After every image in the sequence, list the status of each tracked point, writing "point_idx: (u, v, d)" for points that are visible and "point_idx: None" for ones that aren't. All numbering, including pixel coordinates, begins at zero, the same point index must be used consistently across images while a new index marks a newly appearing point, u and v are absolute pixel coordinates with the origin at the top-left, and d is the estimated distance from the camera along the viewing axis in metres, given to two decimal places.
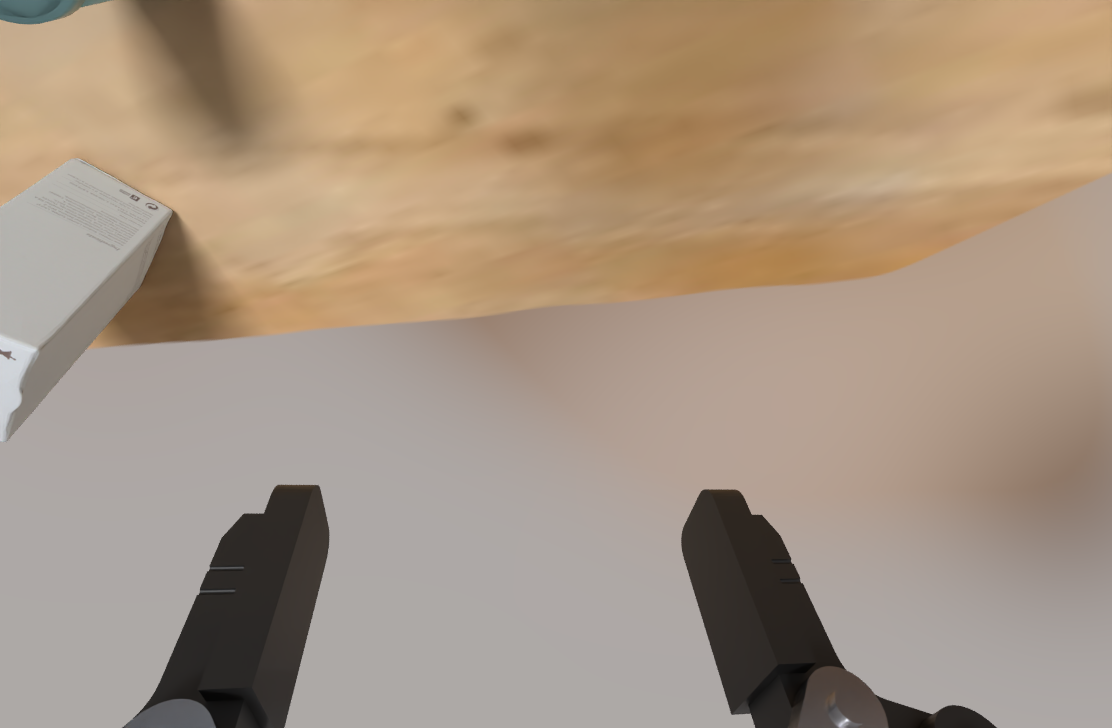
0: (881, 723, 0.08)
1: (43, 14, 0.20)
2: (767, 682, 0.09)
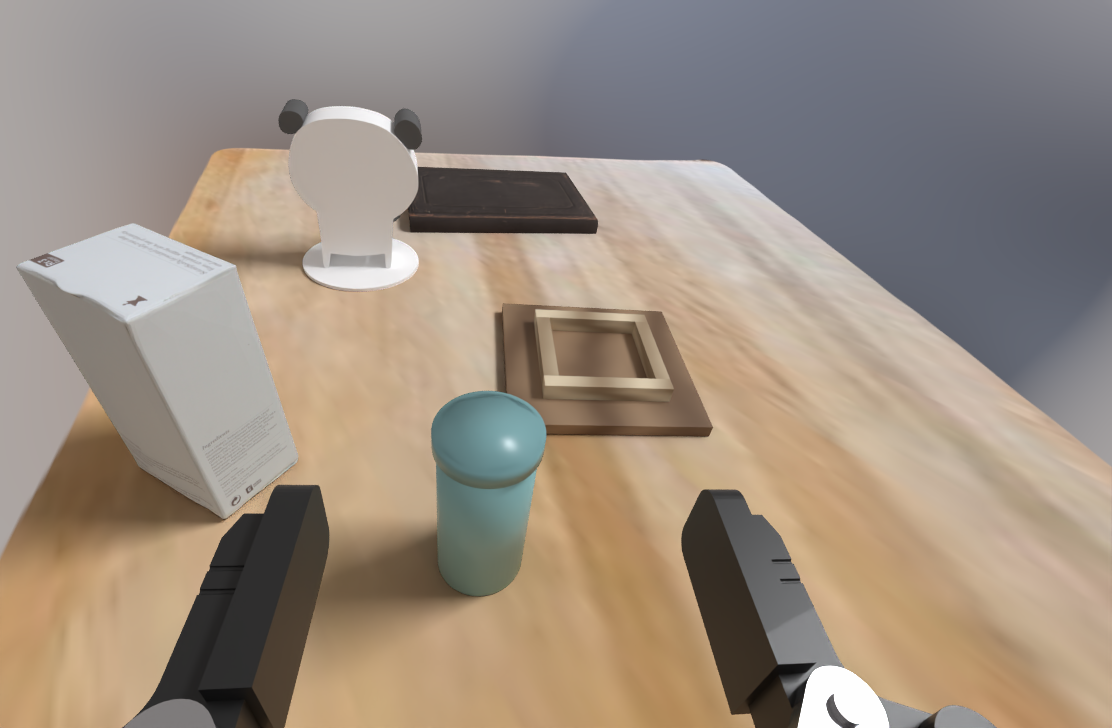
0: (881, 723, 0.08)
1: (439, 444, 0.24)
2: (767, 682, 0.09)
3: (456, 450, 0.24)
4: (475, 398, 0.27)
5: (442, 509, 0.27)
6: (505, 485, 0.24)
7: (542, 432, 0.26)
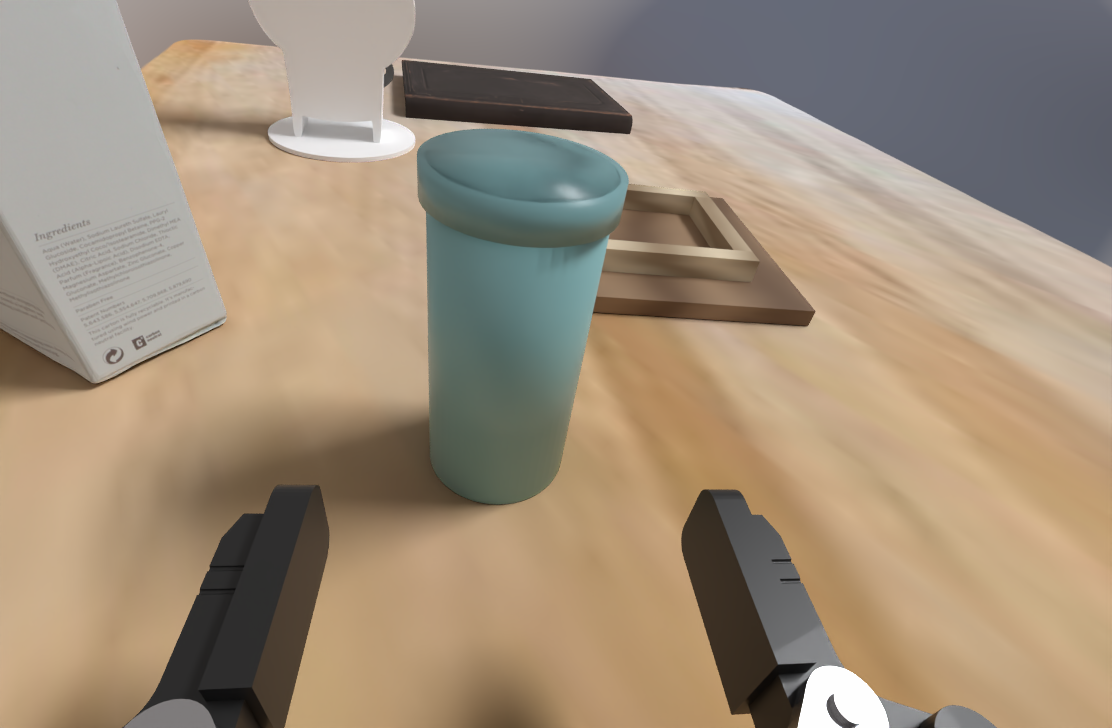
0: (881, 723, 0.08)
1: (431, 166, 0.13)
2: (767, 682, 0.09)
3: (464, 175, 0.13)
4: (497, 134, 0.15)
5: (437, 328, 0.15)
6: (557, 245, 0.13)
7: (620, 174, 0.14)
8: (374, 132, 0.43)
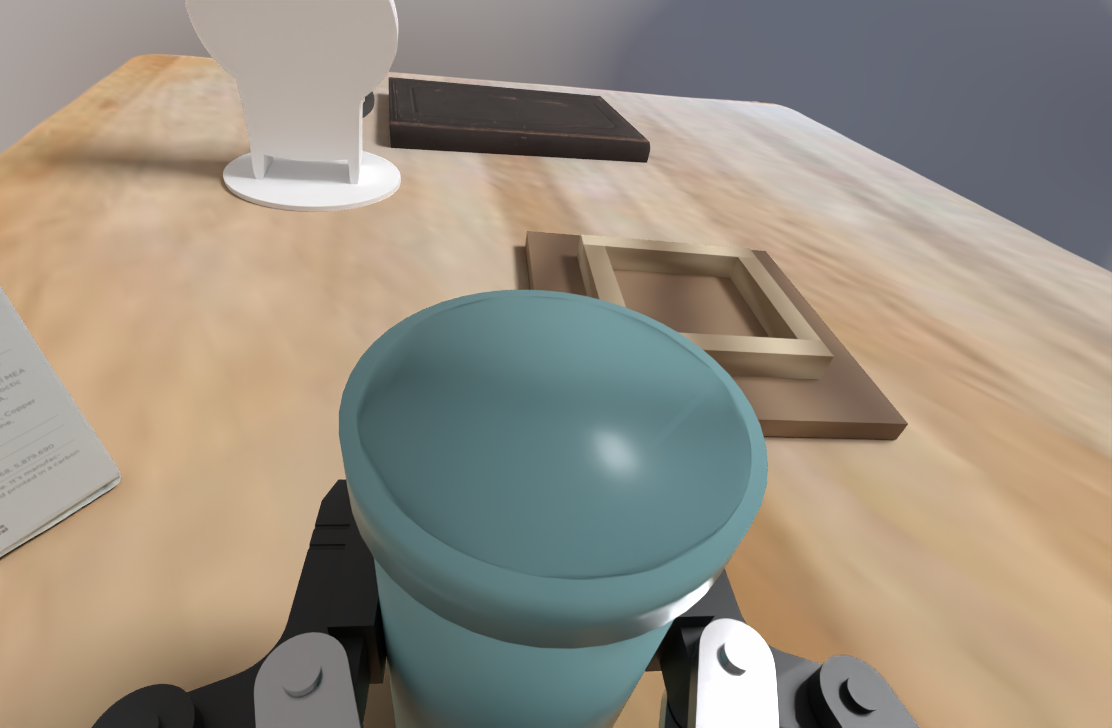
0: (768, 670, 0.08)
1: (364, 452, 0.06)
2: (671, 636, 0.09)
3: (434, 479, 0.06)
4: (503, 306, 0.09)
5: (394, 659, 0.08)
6: (636, 627, 0.06)
7: (743, 413, 0.07)
8: (351, 172, 0.37)
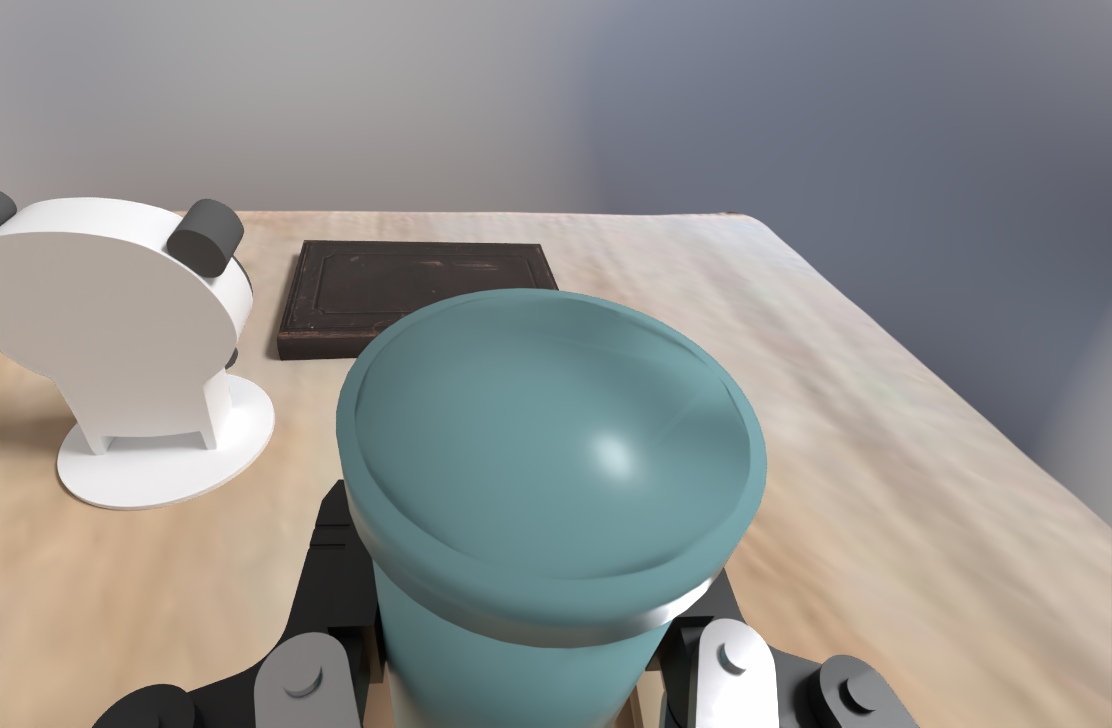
0: (768, 670, 0.08)
1: (361, 451, 0.06)
2: (671, 636, 0.09)
3: (432, 478, 0.06)
4: (501, 305, 0.09)
5: (392, 659, 0.08)
6: (635, 626, 0.06)
7: (742, 412, 0.07)
8: (206, 441, 0.33)
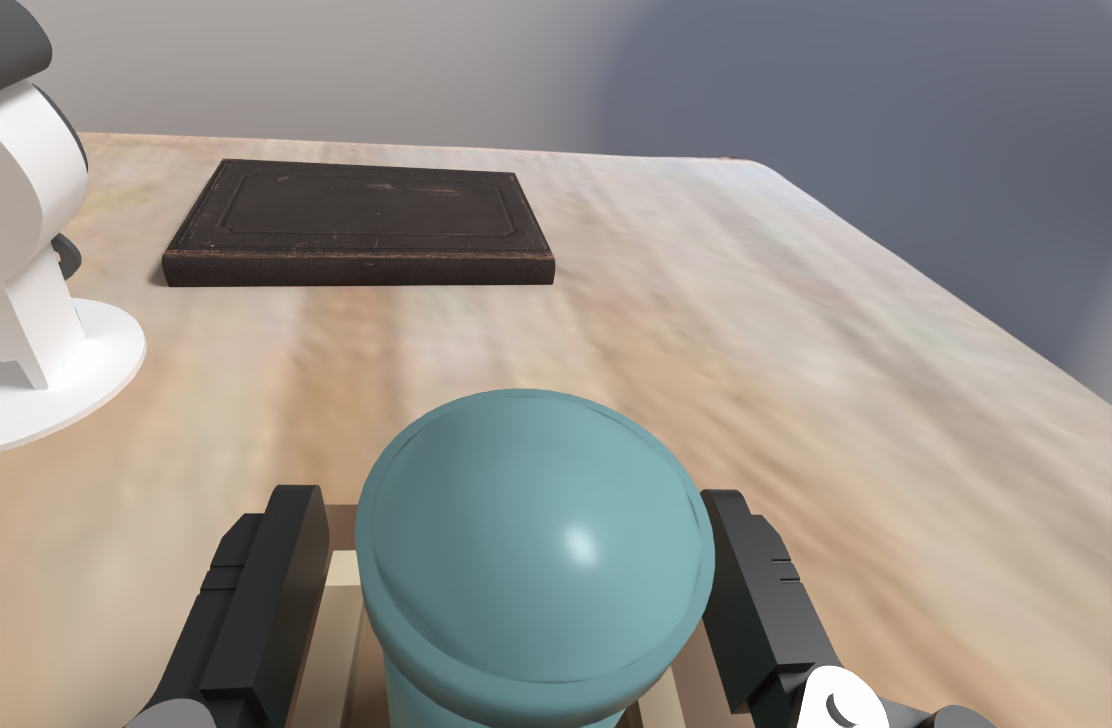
0: (881, 723, 0.08)
1: (376, 564, 0.07)
2: (767, 682, 0.09)
3: (434, 589, 0.07)
4: (495, 408, 0.10)
5: (396, 715, 0.10)
6: (599, 712, 0.07)
7: (698, 516, 0.09)
8: (30, 376, 0.23)
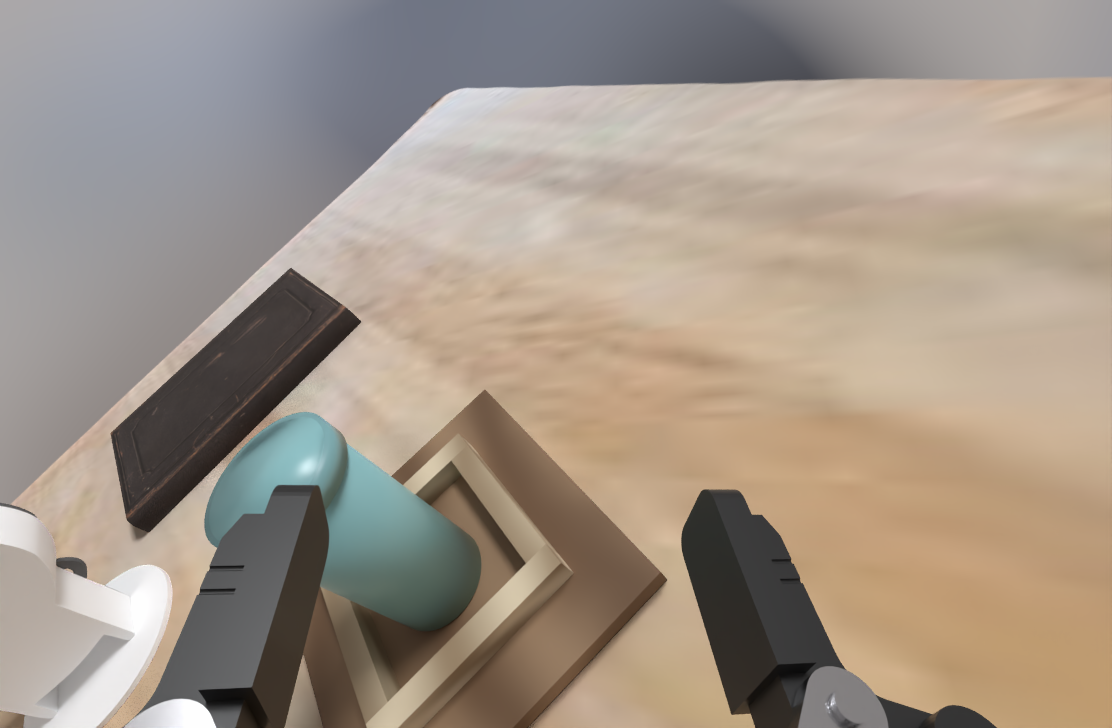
0: (881, 723, 0.08)
1: (216, 538, 0.18)
2: (767, 682, 0.09)
3: None
4: (244, 454, 0.21)
5: None
6: None
7: (323, 430, 0.20)
8: (119, 636, 0.35)
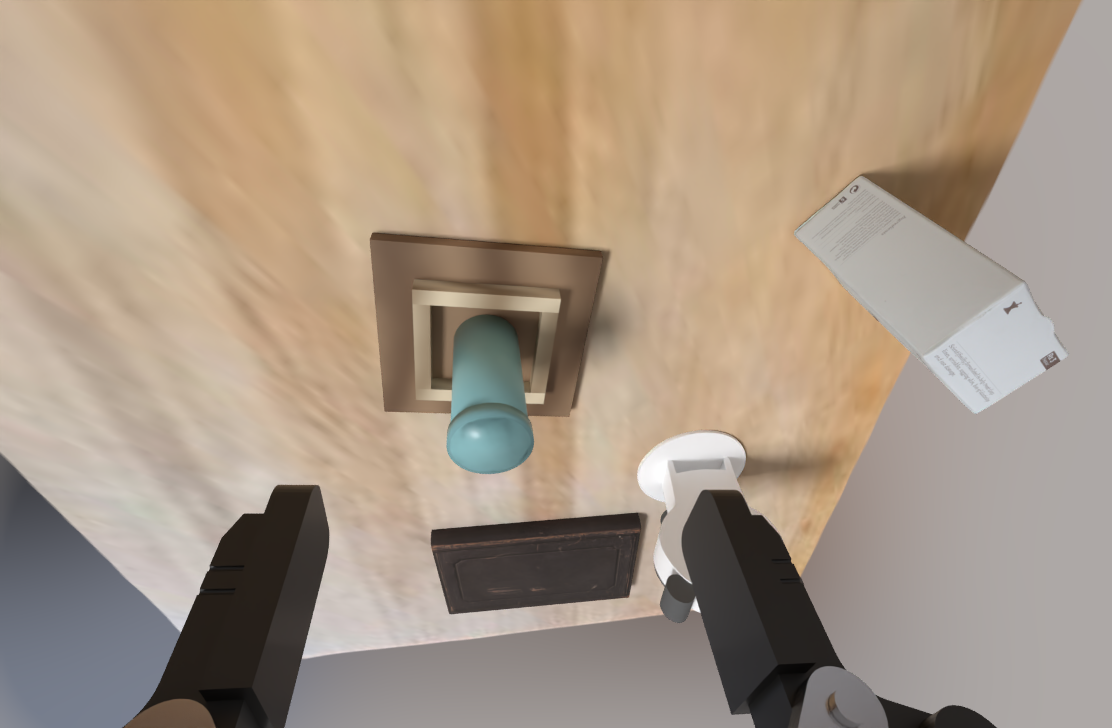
0: (881, 723, 0.08)
1: (529, 436, 0.34)
2: (767, 682, 0.09)
3: (517, 431, 0.33)
4: (497, 468, 0.35)
5: (522, 385, 0.37)
6: (482, 404, 0.33)
7: (450, 442, 0.33)
8: (673, 466, 0.54)
